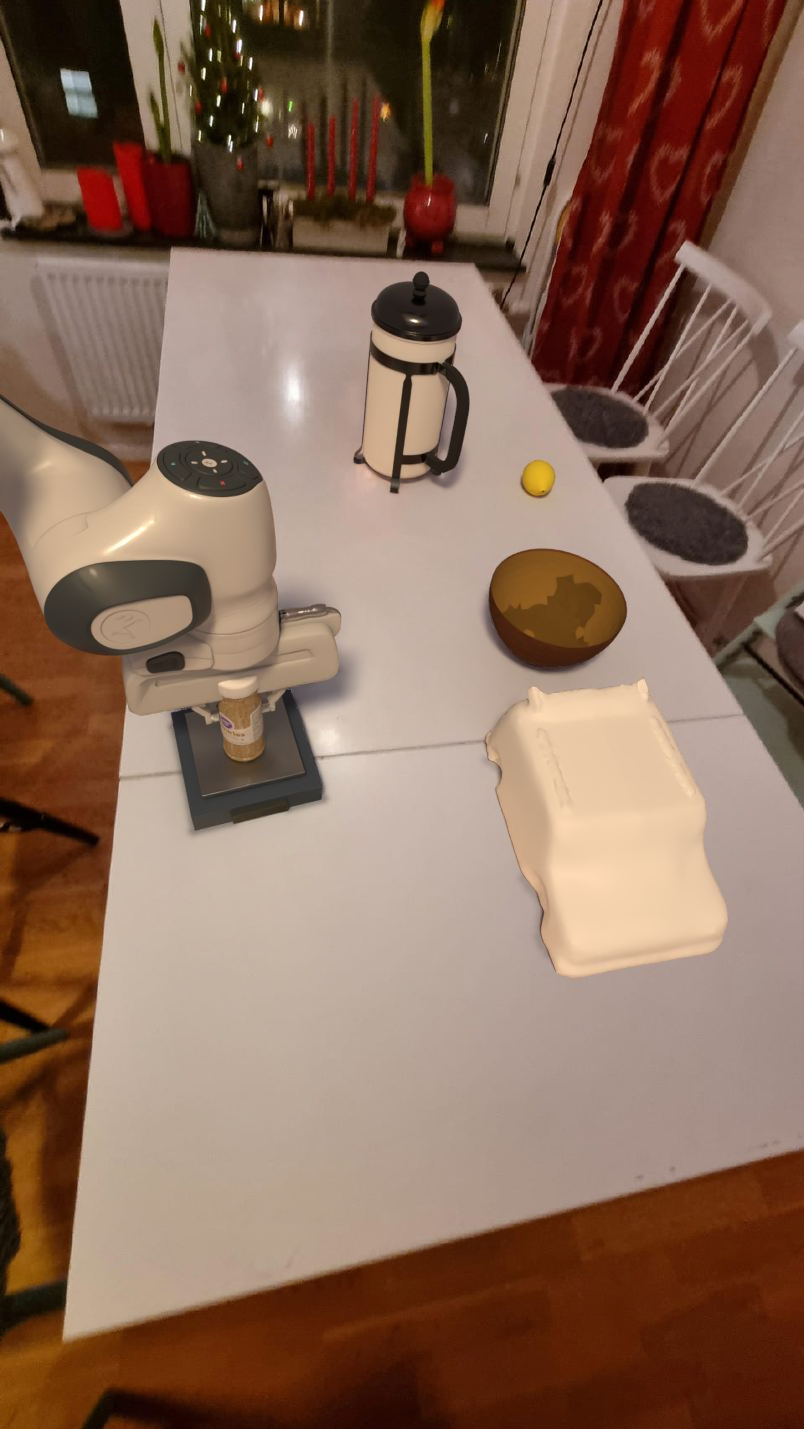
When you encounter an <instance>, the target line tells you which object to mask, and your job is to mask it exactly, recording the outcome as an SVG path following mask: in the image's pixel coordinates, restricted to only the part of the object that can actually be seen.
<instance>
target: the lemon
mask: <svg viewBox="0 0 804 1429" xmlns="http://www.w3.org/2000/svg"><path fill="white" fill-rule="evenodd" d="M521 477H522V478H521V479H522V485H523V487H524V489H525V491H526V492H528V493H529V494H530V495H532V496H536V497H539V496H545V495H546V494H547V493H549V492H550V491H551V490H552V488H553V487H554V485H555V481H556V472H555V469H554V467H553V466H552V465H551V464H550V463H549V462H547V461H545V460H542V459H535V460H531V461H530V462H529V463H527V465H526V466H524V468H523V471H522V475H521Z"/></svg>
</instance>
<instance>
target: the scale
mask: <svg viewBox="0 0 804 1429" xmlns="http://www.w3.org/2000/svg"><path fill="white" fill-rule="evenodd" d="M285 689H286V691H285V692H284V693H283V695H282V699H283V702H284V705H285V708H286V712H287V715H288V718H289V721H290V725H291V728H292V731H293V734H294V738H295V741H296V744H297V747H298V751H299V754H300V757H301V760H302V764H303V767H304V770H305V776H301V777H296V778H292V779H288V780H283V781H279V782H275V783H271V784H266V785H262V786H258V787H254V788H249V789H245V790H241V791H237V792H232V793H228V794H224V795H220V796H215V797H211V798H207V799H203V798H202V794H201V789H200V784H199V779H198V775H197V770H196V765H195V760H194V756H193V751H192V746H191V741H190V737H189V732H188V727H187V722H186V717H185V713H190V712H195V711H194V710H192V708H191V707H189V708H186V709H185V708H184V709H179V710H176V711H175V710H174V711H170V718H171V722H172V726H173V731H174V737H175V742H176V747H177V753H178V757H179V761H180V767H181V774H182V778H183V783H184V788H185V793H186V798H187V804H188V809H189V814H190V818H191V822H192V825H193V829H194V831H200V830H204V829H208V828H212V827H216V826H220V825H224V824H228V823H232V824H233V825H235V824H239V823H244V822H247V821H251V820H254V819H255V820H256V819H259V818H262V817H263V818H264V817H267V816H272V815H275V814H279V813H283V812H287V811H288V810H289V808H294V807H297V806H300V805H305V804H308V803H313V802H317V801H321V800H322V796H323V785H322V781H321V779H320V776H319V772H318V770H317V766H316V762H315V760H314V757H313V754H312V751H311V747H310V744H309V741H308V738H307V735H306V732H305V728H304V726H303V723H302V720H301V716H300V713H299V710H298V707H297V703H296V700H295V698H294V694H293V691H292V688H285ZM217 705H218V702H217Z"/></svg>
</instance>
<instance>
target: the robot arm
mask: <svg viewBox="0 0 804 1429" xmlns="http://www.w3.org/2000/svg"><path fill="white" fill-rule="evenodd" d="M270 495H271V494H270V490H269V488H268V485H267V482H266V480H265V478H264V476H263V474H262V473H261V472H260V471H259V469H258V468H257V466H255V464H253V462H252V461H251V460H250V459H249V458H247V457H246V456H244V455H243V454H242V453H240V452H239V451H237V450H235V449H233V448H231V447H228V446H226V445H223V444H221V443H217V442H213V441H208V440H199V439H197V440H193V439H192V440H181V441H177V442H172V443H171V444H168V445H166V446H165V447H162V448H161V449H160V450H159V452H158V453H157V454H156V456H155V458H154V459H153V462H152V464H151V465H150V467H149V468H148V469H147V471H146V473H145V474H144V475H143V476H142V477H140V479H139V480H137V482H134V480H133V478H132V475H131V473H130V471H129V469H128V468H127V467H126V465H125V464H124V463H123V462H122V461H121V460H120V459H119V458H118V457H117V456H116V455H115V454H113V453H112V452H110V451H109V450H107V449H106V448H105V447H103V446H101V445H99V444H97V443H95V442H93V441H90V440H87V439H85V438H82V437H80V436H77V435H73V434H71V433H68V432H65V431H61V430H59V429H57V428H54V427H52V426H50V425H47V424H46V423H44V422H42V421H40V420H38V419H36V418H35V417H33V416H31V415H30V414H28V413H27V412H25V411H24V410H22V409H21V408H20V407H18V406H17V405H16V404H14V403H13V402H12V401H10V400H9V399H8V398H6V396H4V395H3V394H1V393H0V512H1V513H2V515H3V517H4V518H5V521H6V522H7V524H8V526H9V528H10V530H11V531H12V533H13V536H14V538H15V540H16V543H17V546H18V548H19V551H20V553H21V556H22V559H23V562H24V565H25V567H26V570H27V573H28V577H29V580H30V583H31V587H32V588H33V592H34V594H35V597H36V600H37V602H38V604H39V607H40V610H41V612H42V615H43V617H44V621H45V624H46V626H47V628H48V629H49V631H50V632H51V634H52V635H53V636H54V637H55V638H56V639H57V640H59V641H60V642H62V643H64V644H65V645H67V646H68V647H71V648H73V649H75V650H78V651H81V652H83V653H86V654H87V653H88V654H91V655H97V656H103V657H105V656H108V657H116V656H120V665H121V674H122V683H123V688H124V693H125V699H126V704H127V709H128V711H129V712H130V713H132V714H134V715H137V716H140V717H144V716H145V717H146V716H150V715H154V714H159V713H163V712H164V713H165V712H171V711H175V710H182V709H185V708H186V709H187V708H192V710H194V711H195V712H197V713H199V714H200V715H202V716H205V720H206V724H211V723H216V722H220V721H221V719H220V713H219V709H218V705H217V703H218V702H217V701H222V700H223V698H222V697H223V696H221V695H220V694H219V689H218V684H219V683H221V682H224V681H228V680H235V679H240V678H244V677H251V676H257V677H258V682H259V687H258V689H257V693H260V696H261V705H262V713H266V712H271V711H275V702H277V700H278V699H279V698H280V697H281V696H282V695H283V693H284V692H285V691H286V689H289V688H292V687H293V688H294V687H298V686H302V685H303V686H304V685H308V684H313V683H318V682H324V681H328V680H331V679H333V678H334V677H335V676H336V675H337V674H338V672H339V671H340V659H339V651H338V646H337V641H336V638H335V637H337V635H338V634H339V633H340V631H341V627H342V626H341V625H342V614H341V612H340V611H339V609H337V608H336V607H333V606H327V605H326V603H314V604H311V605H308V606H299V607H298V606H297V607H289V608H283V609H279V606H280V605H279V589H278V585H277V582H276V580H275V577H274V575H273V574H274V572H275V570H276V566H277V558H278V557H277V556H278V554H277V541H276V540H277V536H276V527H275V519H274V511H273V506H272V499H271V496H270Z"/></svg>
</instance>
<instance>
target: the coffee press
mask: <svg viewBox="0 0 804 1429" xmlns="http://www.w3.org/2000/svg"><path fill="white" fill-rule="evenodd" d="M429 277H430V276H429V275H428V273H427V272H425V271H422V270H421V271H417V272H416V273H415V274H414V276H413V278H412V281H411V280H409V281H408V280H407V281H399V282H395V283H392V284H389V285H388V286H386V287H384V288H383V289H382V290H381V291H380V292H379V293H378V294H377V297H376V299H375V300H374V301H373V302H372V303H371V307H370V316H371V319H372V329H371V331H370V335H369V348H368V359H367V371H366V384H365V397H364V412H363V421H362V422H363V424H362V433H361V434H362V437H361V445H360V447H359V448H358V449H357V450H356V451H355V452H354V455H353V463H355V464H357V465H360V464H362V463H364V462H366V463H367V464H368V465H369V467H370V468H371V469H372V470H374V471H376V472H377V473H379V474H381V475H382V476H385V477H388V478H390V487H389V493H393V494H399V488H400V487H399V486H400V480H410V479H415V478H418V477H421V476H423V475H424V474H427V473H428V472H430V473H431V474H433V475H434V476H436V477H438V476H439V477H440V476H441V475H442V474H444V473H445V474H446V473H448V472H451V471H453V469H455V468H456V466H457V465H458V463H459V460H460V457H461V453H462V449H463V446H464V445H463V444H464V440H465V435H466V431H467V426H468V420H469V414H470V407H471V406H470V403H471V399H470V391H469V387H468V384H467V381H466V379H465V377H464V376H463V374H462V373H461V371H459V369H458V368H457V367H456V366H454V364H455V359H456V358H455V357H456V352H457V337H458V333H459V332H460V331H461V330H462V325H463V316H462V314H461V313H460V308H459V305H458V303H457V301H456V300H455V298H454V297H453V296H452V295H451V294H450V293H449V292H447V291H446V290H444V289H442V288H441V287H439V286H436V285H433V284H431V280H430V278H429ZM450 385H451V386H452V388H453V390H454V394H455V399H456V400H455V401H456V405H455V406H456V407H455V412H454V418H453V422H452V423H453V424H452V428H451V433H450V440H449V443H448V450H447V454H446V457H445V459H444V460H443V459H441V458H440V457H438V454H439V447H440V442H441V436H442V431H443V427H444V426H443V425H444V420H445V414H446V409H447V403H448V397H449V393H450V392H449V391H450ZM361 452H362V454H363V456H362V457H361V458H357V456H358V455H359V454H360V453H361Z"/></svg>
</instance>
